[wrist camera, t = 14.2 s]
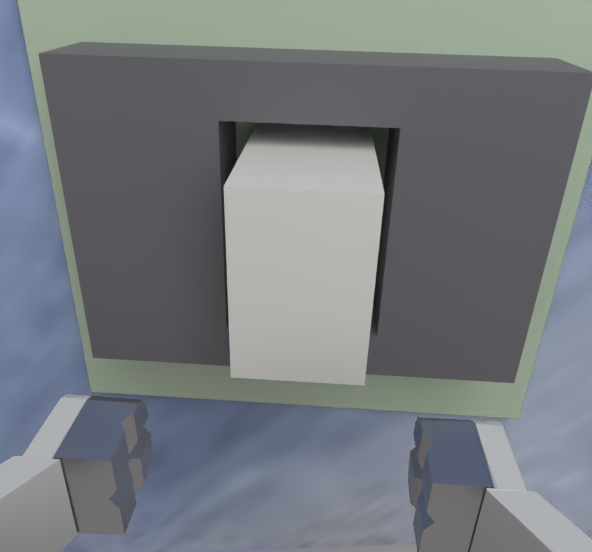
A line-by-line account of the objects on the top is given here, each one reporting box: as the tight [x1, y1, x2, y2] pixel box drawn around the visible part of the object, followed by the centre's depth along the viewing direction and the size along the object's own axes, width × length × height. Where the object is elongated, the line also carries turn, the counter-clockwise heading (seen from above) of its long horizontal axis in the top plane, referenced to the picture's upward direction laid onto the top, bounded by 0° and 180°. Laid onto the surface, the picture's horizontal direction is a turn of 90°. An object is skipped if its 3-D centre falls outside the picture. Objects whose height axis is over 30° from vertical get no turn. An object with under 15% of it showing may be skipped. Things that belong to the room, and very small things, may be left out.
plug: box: [224, 122, 385, 386], centre depth 18 cm, size 4×6×7 cm, turn 178°
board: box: [17, 0, 592, 419], centre depth 21 cm, size 20×20×4 cm
